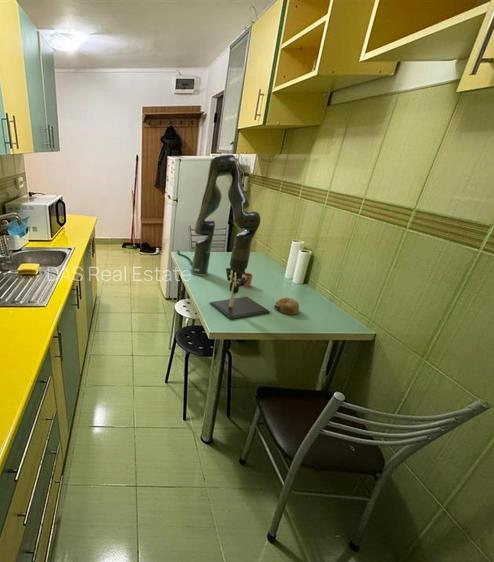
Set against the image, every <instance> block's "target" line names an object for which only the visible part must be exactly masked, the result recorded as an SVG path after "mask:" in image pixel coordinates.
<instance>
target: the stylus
mask: <svg viewBox="0 0 494 562" xmlns="http://www.w3.org/2000/svg"><path fill="white" fill-rule="evenodd" d="M234 284H235V281H234V282H233V285H232V290H231V291H230V296H229V299H230V301H229V307H230V308H231V307H233V304H234V299H235V298H236V293H235V294H234V293H233V289H234ZM237 284H238V282H237Z"/></svg>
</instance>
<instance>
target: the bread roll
mask: <svg viewBox="0 0 494 562" xmlns="http://www.w3.org/2000/svg"><path fill="white" fill-rule="evenodd" d="M274 308H275V309H276V310H277V311H278V312H280V313H281V314H285V315H291V316H292V315H293V316H294V315H298V314H299V310H300V305H299V302H298V301H297V300H296V299H294V298H291V297H283V298H280V299H279V300H277V301H275V305H274Z"/></svg>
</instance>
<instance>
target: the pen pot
mask: <svg viewBox="0 0 494 562" xmlns="http://www.w3.org/2000/svg"><path fill="white" fill-rule="evenodd" d="M245 276H246V277H248V278H249V279H248V281H247V282H246V283H245V284H244V285H243V286H242V287H244V288H250V287H251V285H252V282H253V277H254V275H253V274H252V273H249V272H245Z"/></svg>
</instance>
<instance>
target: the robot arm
mask: <svg viewBox="0 0 494 562" xmlns="http://www.w3.org/2000/svg"><path fill="white" fill-rule="evenodd" d="M224 176H229V177H230V185H229V187H228V191H227V197H228V201H229V203H230V206H231V208H232V216H233V224H234V226H235V227H236V228H238V229H239V230H243V229H244V230H243V231H241V232H238V233H236V235H235V237H234V241H233V247H232V250H231V254H230V261H229V267H227V268H225V272H226V279H227V281H228V282H229V292H231V290H232V285H233V282H234V281H235V284H234V289H233V293H234V294H235V295H236V294H238V293H239V290H240V288H241V287H244V286H243V285H244V284H245V283H246V282H247V281H248V279H249V278H248V277H246V276H245V273H246V270H247V269H248V265H249V261H250V255H251V248H252V242H253V239H254V237H255V235H256V233H257V231H258V229H259V227H260V225H261V215H260V213H259V212H257V211H253V210H252V211H246V210H247V209H249V207H250V201H249V198H248V196H247V194H246V192H245V189H244V187H243V182H242V178H241V175H240V170H239V166H238V162H237V159H236V157H235V155H234V154H232V153H226V154H218V155H214V156H213V157H211V159H210V161H209V167H208V171H207V178H206V184H205V188H204V192H203V196H202V200H201V204H200V209H199V212H198V216H197V219H196V221H195V224H194V234H195V235H196V236H205V237H203V238H201V239H198V240H195V244H194V253H193V257H192V260H191V258H190V257H188V256H187V255H185V254H182V253H180V250H179V249H177V251H176V252H177V254H178V255H179V256H182V257H185V258H186V259H187V260H188V261H189V262H190V265H191V273H192V274H193V275H195V276H207V275H208V270H209V265H210V258H211V251H212V245H213V239H214V234H215V228H216V222H215V220H214V219H208V217H210V216H211V215H213V214H214V213H215V212H216V211H217V210H218V209H219V207H220V205H221V202H222V197H223V195H222V191H221V189H220V187H219V186H218V183H217V180H218V178H219V177H224ZM237 282H238V283H237Z"/></svg>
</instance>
